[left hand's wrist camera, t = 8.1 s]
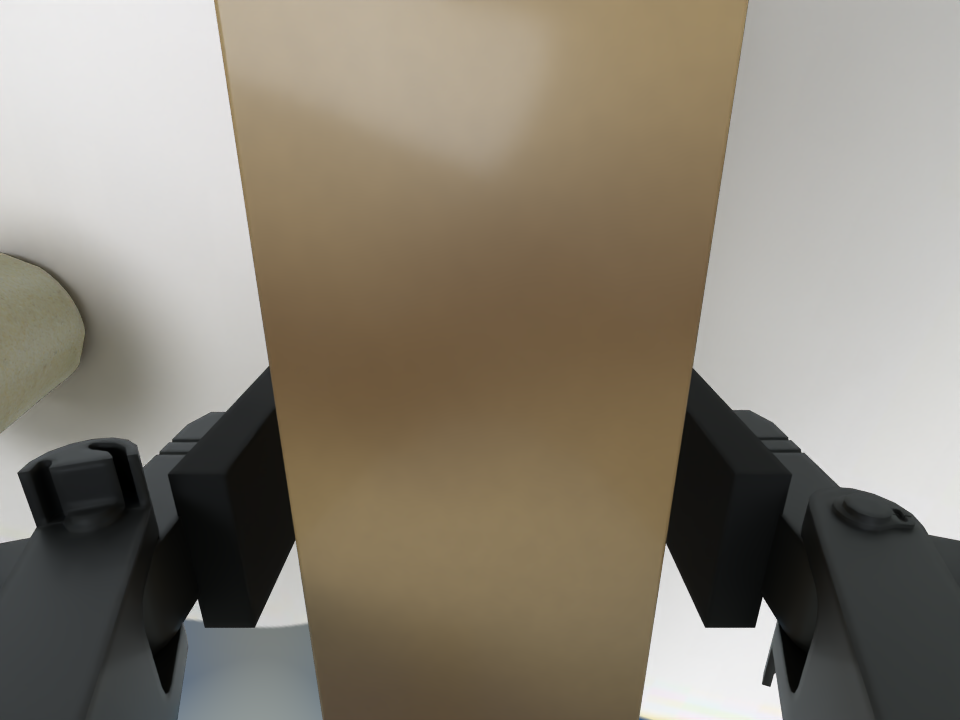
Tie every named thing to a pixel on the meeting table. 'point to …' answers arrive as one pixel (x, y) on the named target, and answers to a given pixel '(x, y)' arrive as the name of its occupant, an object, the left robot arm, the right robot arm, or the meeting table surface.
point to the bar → (481, 329)
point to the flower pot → (34, 337)
